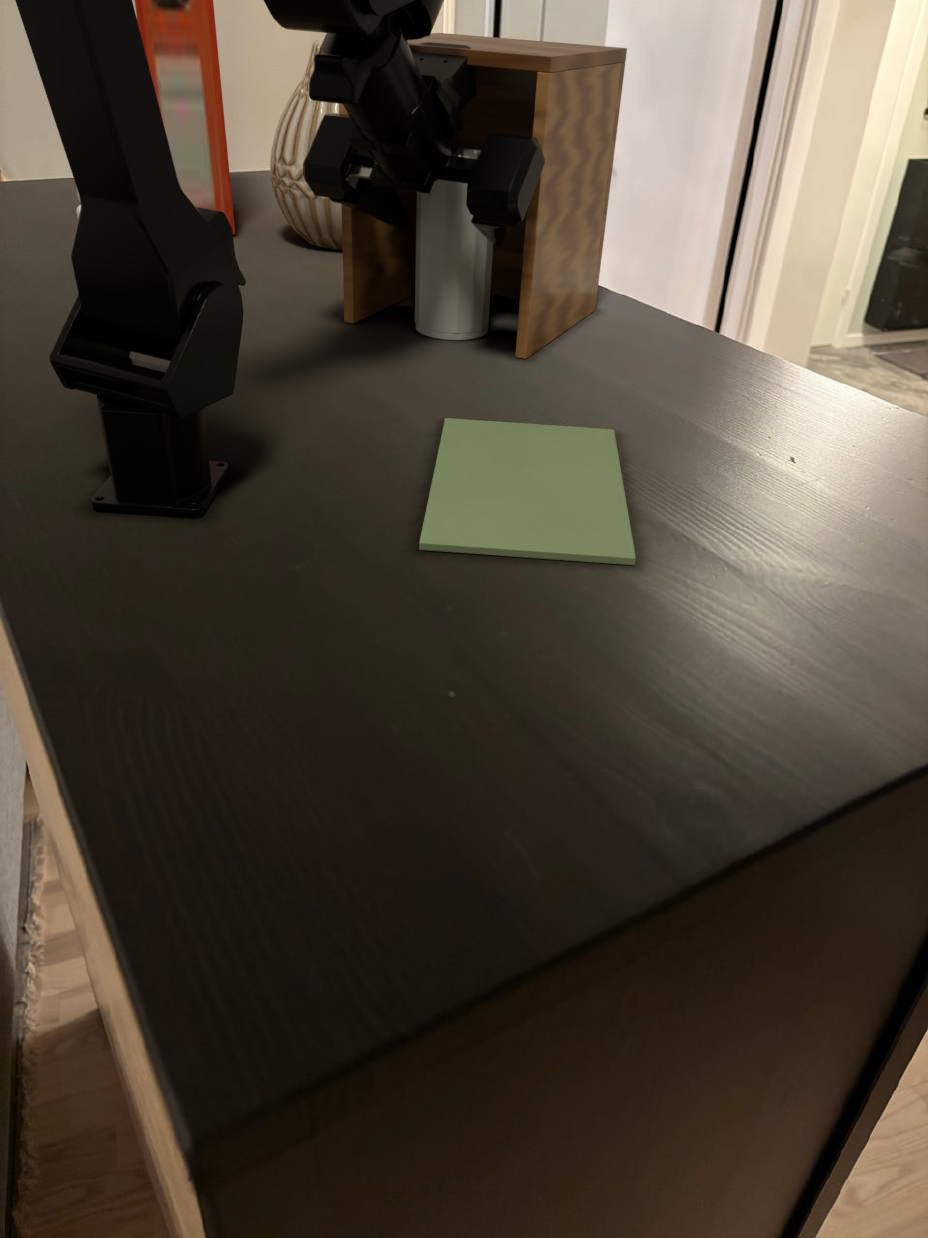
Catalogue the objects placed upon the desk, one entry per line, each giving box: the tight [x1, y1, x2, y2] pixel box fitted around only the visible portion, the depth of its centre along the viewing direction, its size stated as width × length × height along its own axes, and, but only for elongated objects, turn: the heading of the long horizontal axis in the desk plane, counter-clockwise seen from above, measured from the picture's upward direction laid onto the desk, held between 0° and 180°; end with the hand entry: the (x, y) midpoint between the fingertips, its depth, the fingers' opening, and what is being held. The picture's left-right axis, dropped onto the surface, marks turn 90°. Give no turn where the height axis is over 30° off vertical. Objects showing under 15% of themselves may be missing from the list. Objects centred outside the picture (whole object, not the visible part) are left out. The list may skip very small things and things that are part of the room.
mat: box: [418, 417, 637, 566], centre depth 60 cm, size 18×12×1 cm, turn 176°
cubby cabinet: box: [339, 32, 628, 360], centre depth 83 cm, size 17×18×22 cm
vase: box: [269, 39, 343, 251], centre depth 106 cm, size 16×16×20 cm
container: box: [414, 180, 493, 341], centre depth 82 cm, size 7×7×13 cm
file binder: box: [134, 0, 236, 235], centre depth 108 cm, size 8×17×32 cm, turn 14°
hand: (452, 233), depth 81 cm, fingers open, 9 cm apart
